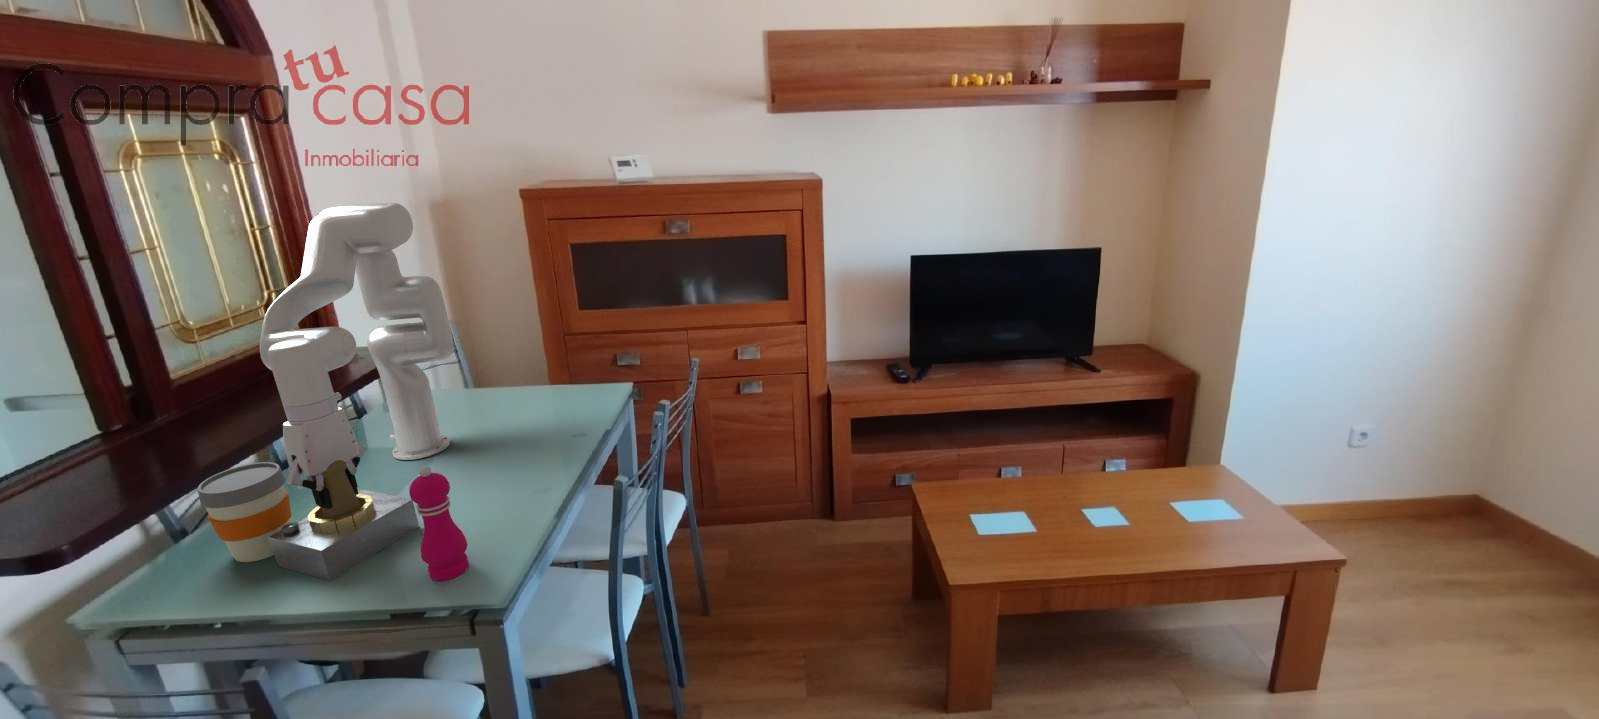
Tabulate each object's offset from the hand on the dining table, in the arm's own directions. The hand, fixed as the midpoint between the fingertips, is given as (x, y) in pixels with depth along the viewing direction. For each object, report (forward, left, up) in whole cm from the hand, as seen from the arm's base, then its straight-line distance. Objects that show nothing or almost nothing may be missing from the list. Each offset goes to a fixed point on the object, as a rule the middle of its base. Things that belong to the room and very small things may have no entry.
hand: (338, 499), depth 128 cm
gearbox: (0, 0, -10) cm, 10 cm away
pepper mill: (+25, 0, -10) cm, 27 cm away
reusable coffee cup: (-16, -6, -10) cm, 20 cm away
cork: (0, 0, -3) cm, 3 cm away
